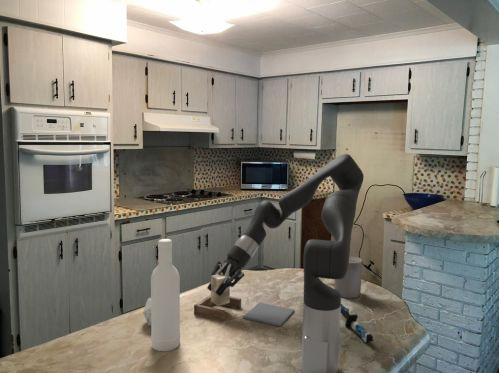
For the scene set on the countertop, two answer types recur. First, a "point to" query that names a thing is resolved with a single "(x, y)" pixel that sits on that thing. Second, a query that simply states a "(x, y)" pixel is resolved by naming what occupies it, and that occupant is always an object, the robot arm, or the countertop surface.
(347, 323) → the knife
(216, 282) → the ash block
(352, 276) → the pillar candle
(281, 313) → the pad
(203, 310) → the stall
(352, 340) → the countertop surface
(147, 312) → the die
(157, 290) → the bottle
